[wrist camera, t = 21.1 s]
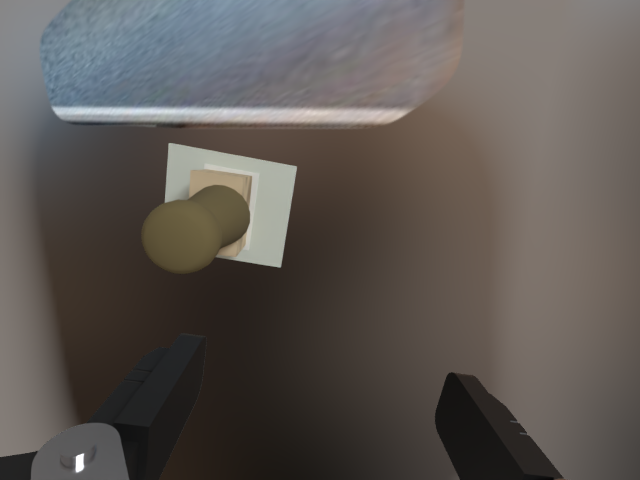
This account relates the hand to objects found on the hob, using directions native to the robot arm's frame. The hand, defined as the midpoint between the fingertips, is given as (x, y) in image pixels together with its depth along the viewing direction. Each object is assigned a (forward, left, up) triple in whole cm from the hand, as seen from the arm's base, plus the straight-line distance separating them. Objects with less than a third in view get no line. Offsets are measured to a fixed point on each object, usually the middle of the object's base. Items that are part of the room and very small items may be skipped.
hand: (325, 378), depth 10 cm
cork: (0, -10, -22) cm, 24 cm away
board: (0, -10, -28) cm, 30 cm away
